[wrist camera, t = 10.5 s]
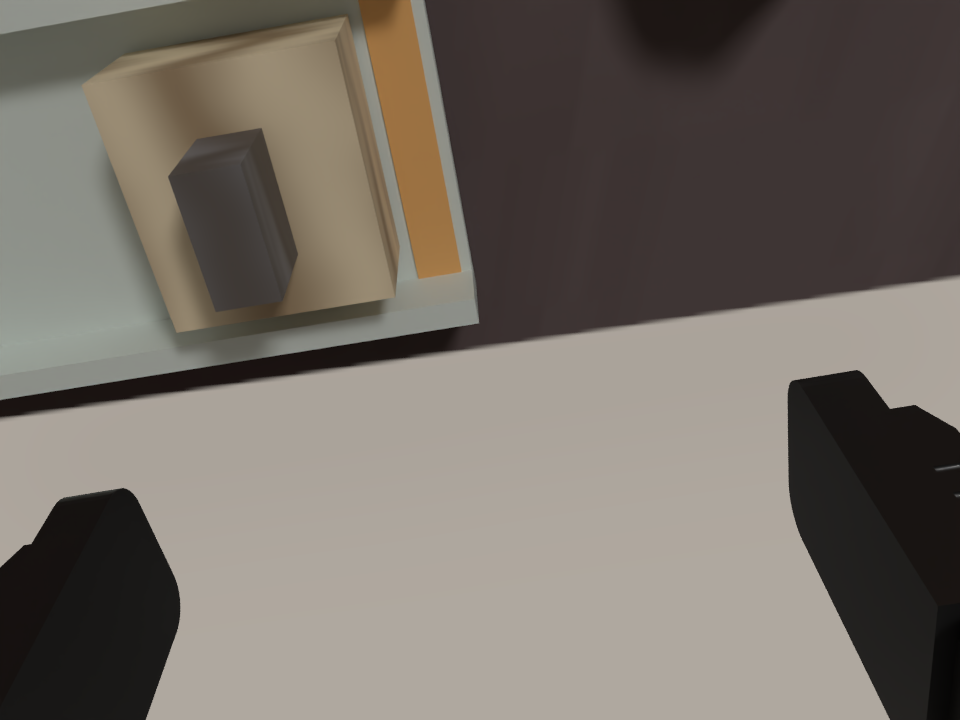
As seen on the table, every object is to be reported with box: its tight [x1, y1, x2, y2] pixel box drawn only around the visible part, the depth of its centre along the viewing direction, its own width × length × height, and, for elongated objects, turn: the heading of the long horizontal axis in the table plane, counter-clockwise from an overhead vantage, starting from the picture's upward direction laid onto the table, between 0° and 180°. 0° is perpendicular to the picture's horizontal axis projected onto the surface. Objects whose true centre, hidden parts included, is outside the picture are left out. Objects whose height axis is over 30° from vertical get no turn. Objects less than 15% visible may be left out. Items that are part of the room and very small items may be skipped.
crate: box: [81, 14, 400, 333], centre depth 34 cm, size 9×10×9 cm
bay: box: [0, 0, 479, 400], centre depth 37 cm, size 26×16×6 cm, turn 99°
